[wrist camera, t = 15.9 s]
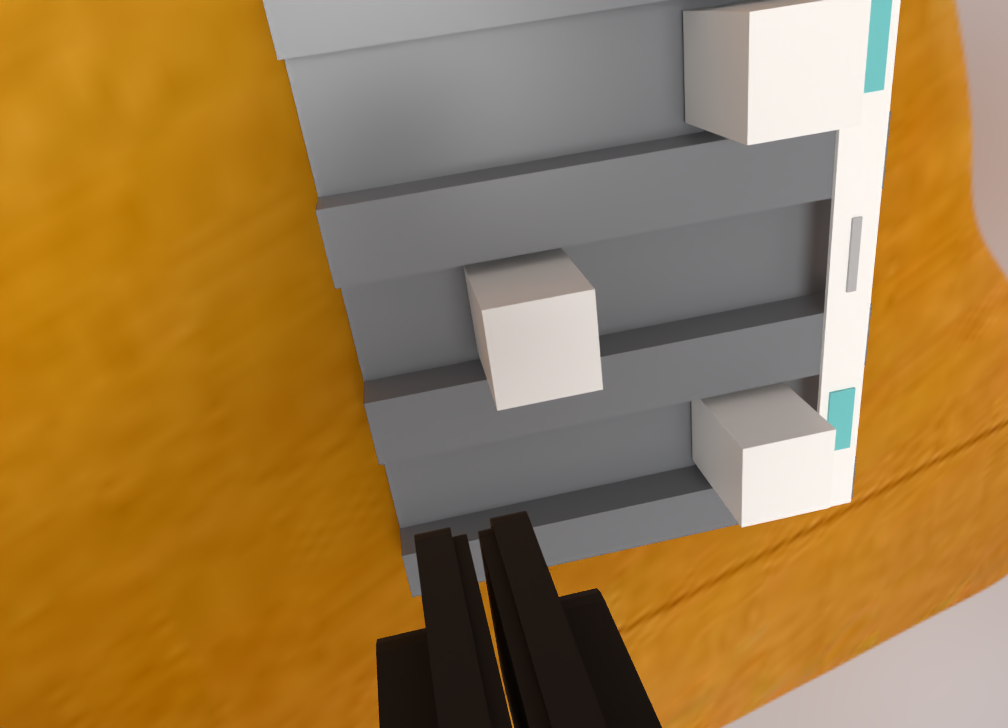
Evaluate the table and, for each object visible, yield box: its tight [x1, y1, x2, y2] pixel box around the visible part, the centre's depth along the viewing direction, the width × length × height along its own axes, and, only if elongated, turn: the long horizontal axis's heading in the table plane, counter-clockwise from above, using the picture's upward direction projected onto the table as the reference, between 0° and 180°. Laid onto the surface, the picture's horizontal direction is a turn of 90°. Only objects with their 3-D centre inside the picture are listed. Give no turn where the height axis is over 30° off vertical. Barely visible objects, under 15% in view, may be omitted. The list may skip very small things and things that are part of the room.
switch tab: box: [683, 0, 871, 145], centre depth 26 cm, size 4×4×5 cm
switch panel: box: [263, 0, 900, 597], centre depth 31 cm, size 26×22×4 cm
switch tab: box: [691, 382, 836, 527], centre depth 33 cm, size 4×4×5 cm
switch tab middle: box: [463, 248, 603, 411], centre depth 29 cm, size 4×4×5 cm
